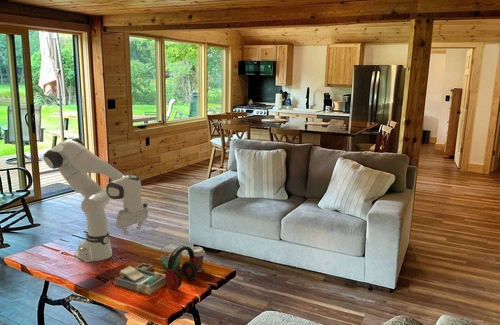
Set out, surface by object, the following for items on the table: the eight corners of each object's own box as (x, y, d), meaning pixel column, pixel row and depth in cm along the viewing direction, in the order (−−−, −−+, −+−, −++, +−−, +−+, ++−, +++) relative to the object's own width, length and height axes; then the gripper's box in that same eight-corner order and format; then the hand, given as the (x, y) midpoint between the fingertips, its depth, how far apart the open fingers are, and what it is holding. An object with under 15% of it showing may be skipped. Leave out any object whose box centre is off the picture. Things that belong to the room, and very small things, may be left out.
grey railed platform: (115, 284, 201) (114, 278, 201) (134, 273, 214) (134, 267, 213) (136, 290, 195) (136, 284, 195) (155, 279, 208) (155, 273, 207)
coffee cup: (198, 274, 214) (198, 253, 211) (184, 270, 218) (184, 250, 216) (208, 268, 221) (208, 248, 219) (195, 264, 226) (194, 244, 224)
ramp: (120, 277, 204) (119, 270, 203) (129, 272, 210) (129, 265, 209) (135, 282, 200) (134, 274, 199) (144, 276, 206) (144, 269, 205)
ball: (152, 290, 197) (154, 281, 195) (144, 285, 199) (146, 277, 197) (158, 285, 201) (160, 277, 200) (151, 281, 203) (152, 273, 202)
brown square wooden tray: (134, 271, 216) (134, 267, 216) (143, 266, 222) (143, 262, 222) (144, 274, 213) (144, 270, 213) (153, 268, 219) (153, 265, 219)
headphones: (177, 293, 194) (176, 255, 190) (162, 287, 199) (161, 250, 195) (200, 279, 208) (200, 243, 205) (185, 274, 214) (185, 239, 210)
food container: (164, 276, 211) (164, 258, 209) (160, 272, 216) (159, 254, 214) (185, 271, 218) (185, 253, 216) (181, 266, 223) (181, 250, 221)
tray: (136, 290, 195) (136, 283, 195) (155, 279, 208) (154, 271, 207) (149, 294, 192) (149, 287, 191) (167, 282, 204) (167, 275, 204)
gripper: (122, 212, 195) (122, 239, 197) (150, 202, 213) (150, 227, 215) (112, 210, 197) (113, 236, 200) (140, 200, 216) (140, 225, 218)
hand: (132, 231), depth 208 cm, fingers open, 8 cm apart
